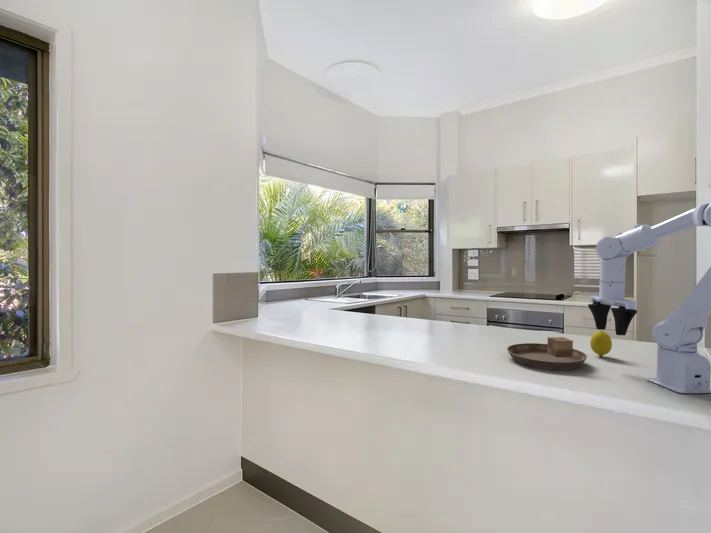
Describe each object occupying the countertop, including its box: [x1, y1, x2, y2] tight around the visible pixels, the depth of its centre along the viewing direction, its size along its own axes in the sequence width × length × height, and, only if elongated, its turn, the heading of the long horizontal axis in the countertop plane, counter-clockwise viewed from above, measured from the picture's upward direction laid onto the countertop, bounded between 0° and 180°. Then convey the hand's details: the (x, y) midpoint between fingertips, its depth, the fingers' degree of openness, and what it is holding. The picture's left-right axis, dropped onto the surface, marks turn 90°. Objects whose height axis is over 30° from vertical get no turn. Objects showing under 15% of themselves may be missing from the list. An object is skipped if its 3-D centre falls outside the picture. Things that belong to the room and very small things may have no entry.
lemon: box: [589, 330, 613, 358], centre depth 117 cm, size 6×6×8 cm
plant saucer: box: [506, 342, 588, 371], centre depth 111 cm, size 21×21×3 cm
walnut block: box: [546, 336, 574, 357], centre depth 107 cm, size 4×4×4 cm
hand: (610, 332), depth 105 cm, fingers open, 7 cm apart
